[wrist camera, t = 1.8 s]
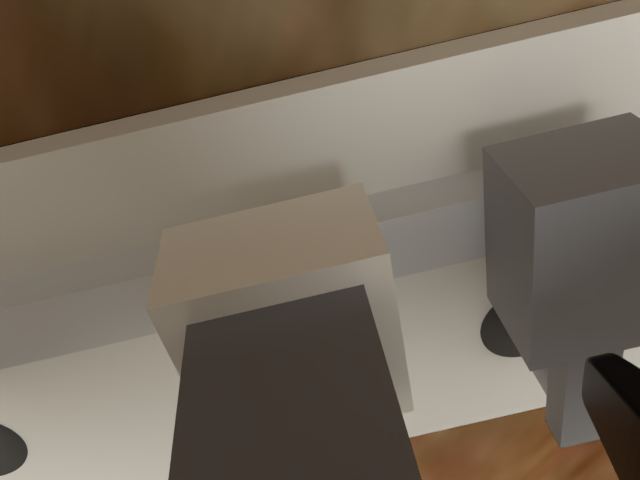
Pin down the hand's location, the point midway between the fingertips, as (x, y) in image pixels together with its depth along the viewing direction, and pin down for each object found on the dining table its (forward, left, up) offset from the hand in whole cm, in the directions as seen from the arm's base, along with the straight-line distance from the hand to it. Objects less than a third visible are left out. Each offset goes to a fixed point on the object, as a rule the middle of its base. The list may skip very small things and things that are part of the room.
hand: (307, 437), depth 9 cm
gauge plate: (-2, +2, -6) cm, 7 cm away
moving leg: (-2, 0, -5) cm, 5 cm away
